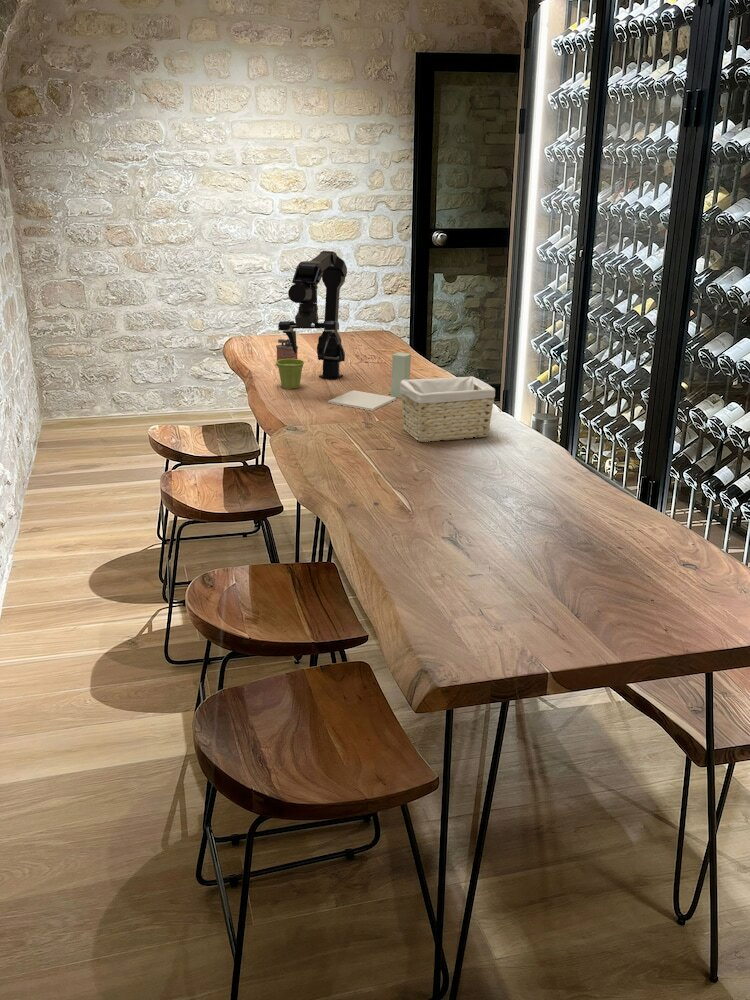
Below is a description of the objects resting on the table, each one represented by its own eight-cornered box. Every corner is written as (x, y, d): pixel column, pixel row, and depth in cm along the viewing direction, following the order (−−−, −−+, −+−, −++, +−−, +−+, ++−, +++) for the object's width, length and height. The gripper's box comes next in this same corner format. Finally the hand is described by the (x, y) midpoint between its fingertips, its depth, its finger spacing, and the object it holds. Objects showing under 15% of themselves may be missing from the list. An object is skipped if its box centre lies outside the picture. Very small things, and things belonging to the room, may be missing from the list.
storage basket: (415, 444, 240) (418, 393, 235) (396, 427, 254) (398, 378, 249) (493, 439, 247) (498, 388, 242) (470, 423, 262) (474, 375, 256)
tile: (353, 392, 290) (353, 390, 289) (395, 399, 283) (395, 397, 282) (328, 403, 276) (328, 400, 276) (372, 411, 270) (372, 408, 269)
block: (396, 393, 290) (398, 352, 285) (409, 395, 288) (411, 354, 283) (390, 396, 286) (392, 354, 281) (402, 398, 284) (404, 356, 279)
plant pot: (300, 391, 289) (300, 365, 285) (272, 389, 290) (272, 363, 287) (307, 384, 297) (307, 359, 294) (281, 382, 299) (281, 357, 296)
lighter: (298, 365, 323) (298, 338, 320) (297, 367, 320) (297, 340, 316) (277, 364, 324) (277, 337, 320) (275, 366, 321) (275, 339, 317)
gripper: (272, 303, 269) (274, 354, 272) (331, 302, 266) (332, 354, 269) (282, 303, 279) (283, 352, 283) (339, 303, 276) (339, 352, 280)
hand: (309, 353), depth 278 cm, fingers open, 9 cm apart
